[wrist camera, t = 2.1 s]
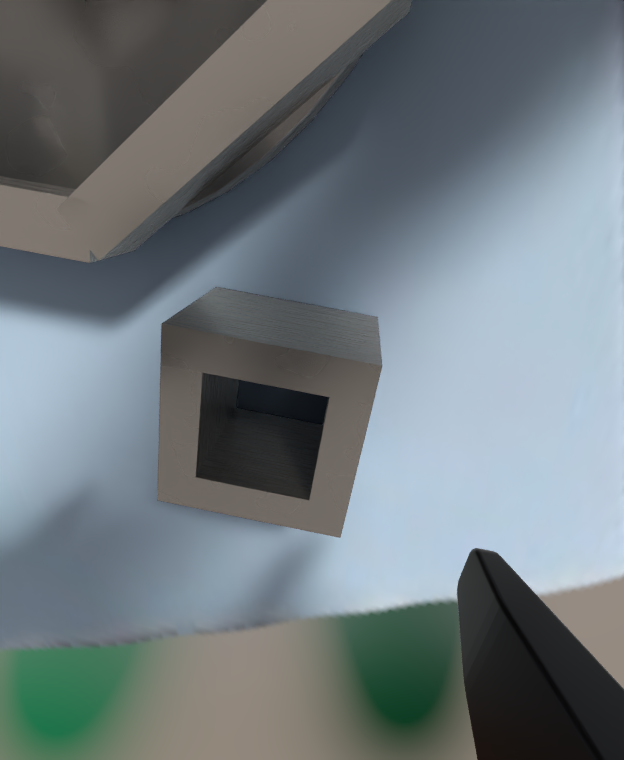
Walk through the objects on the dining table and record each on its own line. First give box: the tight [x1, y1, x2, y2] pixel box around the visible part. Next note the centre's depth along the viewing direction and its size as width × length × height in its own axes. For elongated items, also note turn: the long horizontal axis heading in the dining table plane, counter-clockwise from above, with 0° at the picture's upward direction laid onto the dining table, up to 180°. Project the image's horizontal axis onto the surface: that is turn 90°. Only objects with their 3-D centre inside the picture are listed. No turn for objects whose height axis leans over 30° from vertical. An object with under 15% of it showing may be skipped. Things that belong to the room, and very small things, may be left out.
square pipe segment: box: [158, 287, 382, 538], centre depth 13 cm, size 5×5×4 cm
